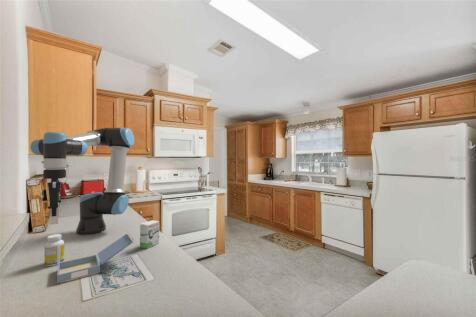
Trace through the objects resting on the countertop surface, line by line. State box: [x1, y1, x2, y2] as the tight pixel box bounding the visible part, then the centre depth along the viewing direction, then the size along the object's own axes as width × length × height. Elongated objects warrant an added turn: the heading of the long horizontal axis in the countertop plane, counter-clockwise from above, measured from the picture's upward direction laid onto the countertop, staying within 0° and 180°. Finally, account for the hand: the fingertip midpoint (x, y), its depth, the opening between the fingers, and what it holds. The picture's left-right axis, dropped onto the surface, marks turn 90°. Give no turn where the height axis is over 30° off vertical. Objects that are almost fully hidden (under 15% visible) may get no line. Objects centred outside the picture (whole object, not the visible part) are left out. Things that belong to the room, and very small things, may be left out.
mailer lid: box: [97, 231, 135, 266], centre depth 96 cm, size 12×14×2 cm
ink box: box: [139, 219, 160, 249], centre depth 115 cm, size 9×5×12 cm, turn 155°
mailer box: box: [56, 254, 101, 285], centre depth 88 cm, size 12×13×3 cm
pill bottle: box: [44, 233, 65, 267], centre depth 95 cm, size 6×6×12 cm
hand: (54, 220), depth 95 cm, fingers open, 10 cm apart
